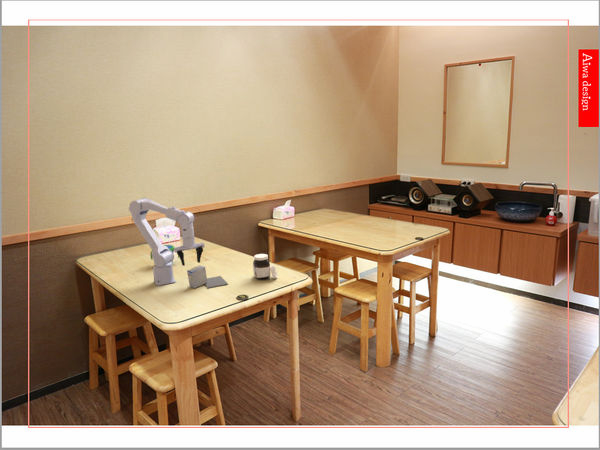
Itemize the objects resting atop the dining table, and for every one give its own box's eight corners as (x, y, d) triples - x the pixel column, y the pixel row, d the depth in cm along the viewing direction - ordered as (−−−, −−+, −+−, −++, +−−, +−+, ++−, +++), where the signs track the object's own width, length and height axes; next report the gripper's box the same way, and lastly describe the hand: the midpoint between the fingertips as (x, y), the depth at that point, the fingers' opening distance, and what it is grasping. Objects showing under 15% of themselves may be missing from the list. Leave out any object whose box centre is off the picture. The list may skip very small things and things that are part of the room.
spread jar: (252, 275, 230) (250, 254, 227) (272, 272, 234) (271, 251, 231) (259, 283, 219) (258, 260, 216) (280, 279, 223) (279, 257, 220)
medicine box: (202, 281, 223) (199, 265, 220) (207, 282, 220) (205, 266, 218) (189, 286, 217) (186, 270, 214) (195, 288, 214) (192, 271, 212)
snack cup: (181, 260, 259) (179, 244, 257) (177, 266, 249) (176, 249, 246) (154, 262, 258) (152, 245, 256) (149, 268, 248) (147, 250, 246)
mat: (208, 288, 214) (208, 287, 214) (201, 280, 225) (201, 279, 225) (228, 284, 218) (228, 283, 218) (220, 276, 230) (220, 275, 229)
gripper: (175, 241, 209) (178, 268, 212) (205, 236, 216) (207, 262, 219) (171, 238, 215) (174, 264, 218) (200, 233, 222) (203, 259, 225)
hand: (191, 263), depth 219 cm, fingers open, 7 cm apart
